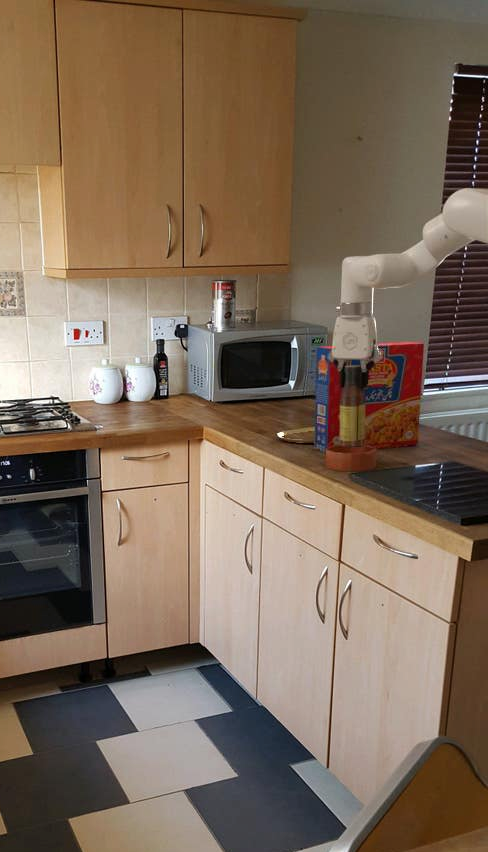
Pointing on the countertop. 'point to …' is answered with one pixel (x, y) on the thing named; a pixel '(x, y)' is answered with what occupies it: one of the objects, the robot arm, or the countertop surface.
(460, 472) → the countertop surface
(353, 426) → the sauce bottle
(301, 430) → the serving platter
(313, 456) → the countertop surface
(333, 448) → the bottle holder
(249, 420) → the countertop surface
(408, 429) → the pasta box
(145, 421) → the countertop surface
